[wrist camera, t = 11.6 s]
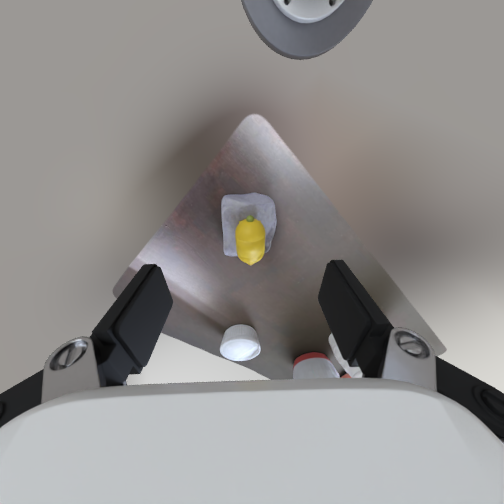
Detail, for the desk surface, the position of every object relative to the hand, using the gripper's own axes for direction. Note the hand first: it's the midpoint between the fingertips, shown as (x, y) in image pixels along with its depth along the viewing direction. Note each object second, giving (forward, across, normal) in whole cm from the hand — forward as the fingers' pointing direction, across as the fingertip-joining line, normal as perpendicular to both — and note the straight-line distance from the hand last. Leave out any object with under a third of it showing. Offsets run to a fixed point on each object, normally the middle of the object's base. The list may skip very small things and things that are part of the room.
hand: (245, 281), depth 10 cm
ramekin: (+24, +3, +43) cm, 49 cm away
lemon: (+20, 0, +8) cm, 22 cm away
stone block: (+25, 0, +8) cm, 26 cm away
